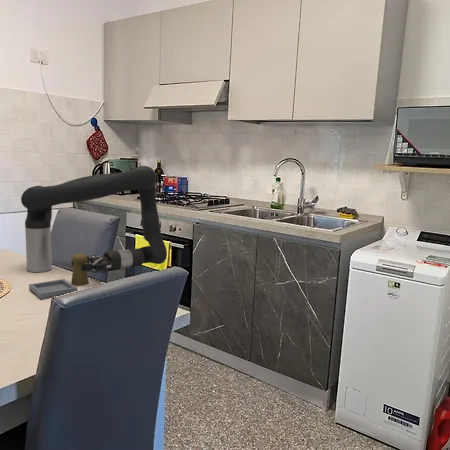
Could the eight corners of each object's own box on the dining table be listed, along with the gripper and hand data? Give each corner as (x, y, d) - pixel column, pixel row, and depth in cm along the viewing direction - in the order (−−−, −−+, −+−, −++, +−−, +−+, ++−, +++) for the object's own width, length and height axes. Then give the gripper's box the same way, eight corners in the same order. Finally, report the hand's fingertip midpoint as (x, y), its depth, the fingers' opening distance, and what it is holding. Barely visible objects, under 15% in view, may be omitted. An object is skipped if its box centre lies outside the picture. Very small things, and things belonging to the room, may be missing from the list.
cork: (83, 286, 157) (82, 256, 155) (67, 285, 158) (67, 255, 156) (91, 281, 163) (91, 252, 161) (76, 280, 164) (76, 251, 162)
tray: (29, 290, 151) (29, 284, 151) (64, 284, 159) (64, 278, 159) (40, 299, 142) (40, 293, 142) (77, 293, 150) (77, 287, 150)
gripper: (109, 246, 174) (68, 251, 164) (126, 254, 163) (84, 259, 153) (109, 265, 175) (69, 271, 165) (126, 273, 164) (84, 280, 154)
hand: (76, 265), depth 159 cm, fingers open, 8 cm apart
